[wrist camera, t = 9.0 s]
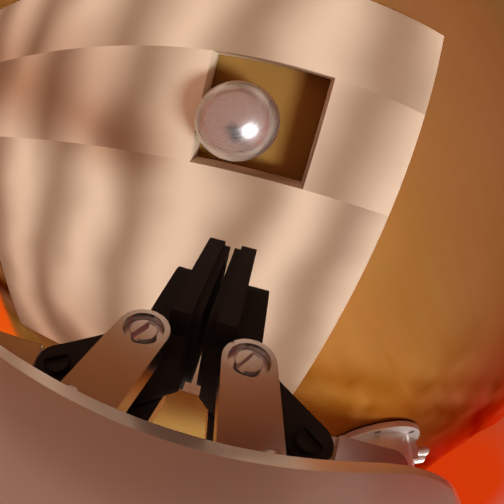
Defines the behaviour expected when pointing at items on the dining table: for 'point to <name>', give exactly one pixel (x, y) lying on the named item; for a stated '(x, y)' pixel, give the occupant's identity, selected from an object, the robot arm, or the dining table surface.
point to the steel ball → (237, 120)
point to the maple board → (196, 157)
